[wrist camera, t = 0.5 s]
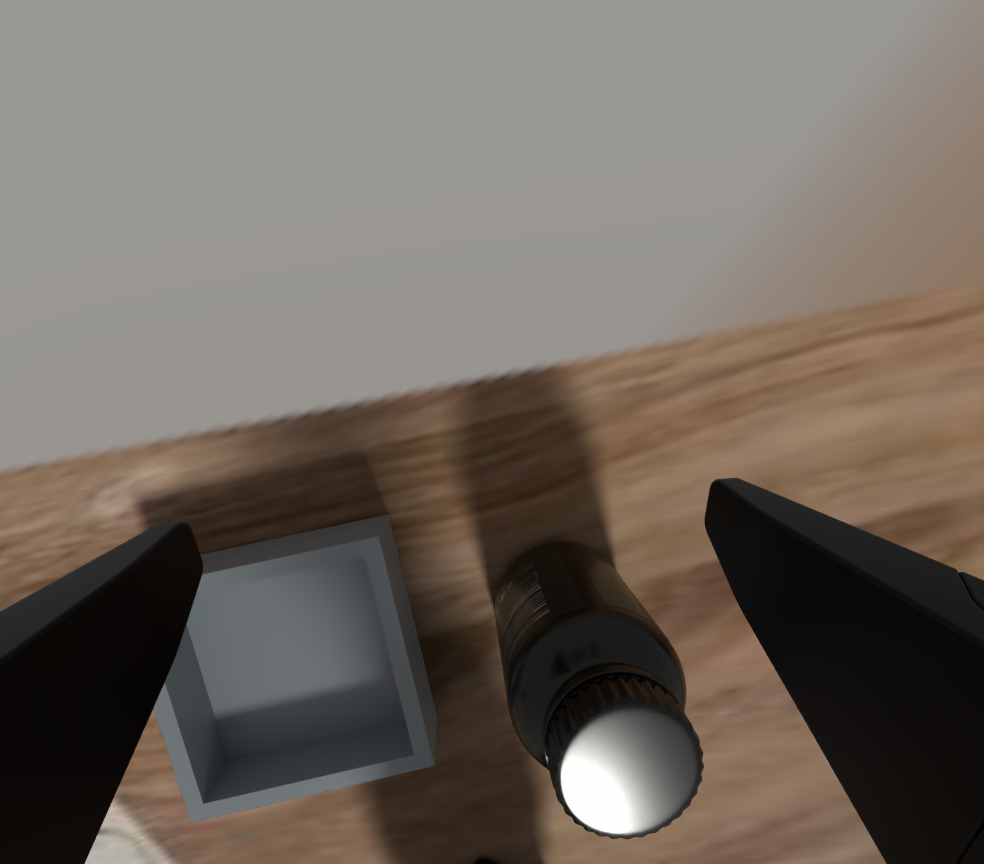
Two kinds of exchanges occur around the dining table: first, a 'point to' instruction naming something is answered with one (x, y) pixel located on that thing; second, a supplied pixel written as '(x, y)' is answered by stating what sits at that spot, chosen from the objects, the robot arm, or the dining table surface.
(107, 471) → the dining table surface
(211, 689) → the tray
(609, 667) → the supplement bottle
